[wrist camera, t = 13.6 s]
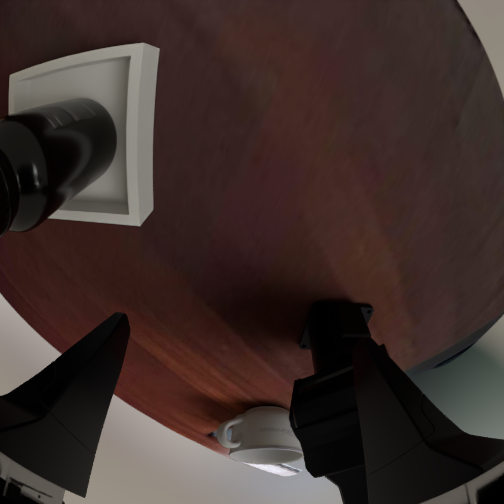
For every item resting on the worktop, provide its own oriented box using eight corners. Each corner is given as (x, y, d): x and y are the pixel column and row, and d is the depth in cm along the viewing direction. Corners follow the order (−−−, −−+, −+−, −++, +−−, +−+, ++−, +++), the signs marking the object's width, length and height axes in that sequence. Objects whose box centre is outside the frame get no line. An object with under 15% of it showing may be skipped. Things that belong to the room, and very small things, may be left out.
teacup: (313, 414, 39) (317, 458, 32) (258, 431, 43) (258, 470, 36) (262, 381, 33) (262, 437, 27) (202, 401, 37) (195, 449, 30)
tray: (153, 209, 22) (140, 226, 19) (39, 202, 21) (20, 215, 18) (159, 48, 15) (143, 42, 12) (32, 72, 14) (9, 75, 12)
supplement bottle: (40, 131, 17) (-72, 184, 6) (96, 79, 15) (-38, 99, 5) (76, 196, 20) (-20, 283, 10) (136, 155, 18) (24, 235, 8)
